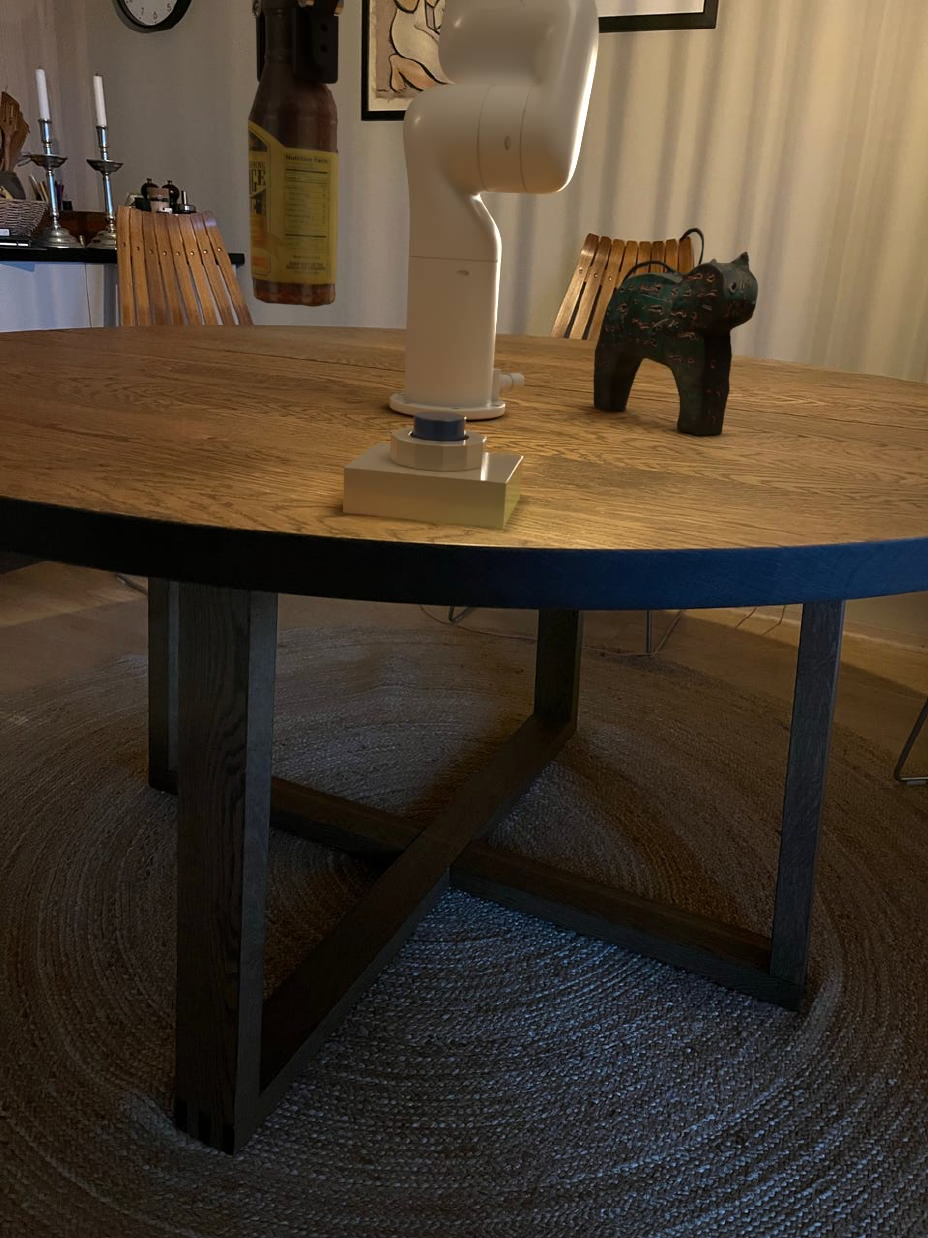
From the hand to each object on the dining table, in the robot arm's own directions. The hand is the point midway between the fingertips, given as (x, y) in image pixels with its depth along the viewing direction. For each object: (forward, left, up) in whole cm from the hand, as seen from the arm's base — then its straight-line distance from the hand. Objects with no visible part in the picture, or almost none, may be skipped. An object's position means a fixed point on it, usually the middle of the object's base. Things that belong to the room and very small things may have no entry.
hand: (296, 80), depth 68 cm
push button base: (-4, +13, -27) cm, 30 cm away
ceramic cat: (-48, -4, -27) cm, 55 cm away
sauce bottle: (0, 0, -15) cm, 15 cm away
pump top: (-4, +13, -23) cm, 26 cm away
